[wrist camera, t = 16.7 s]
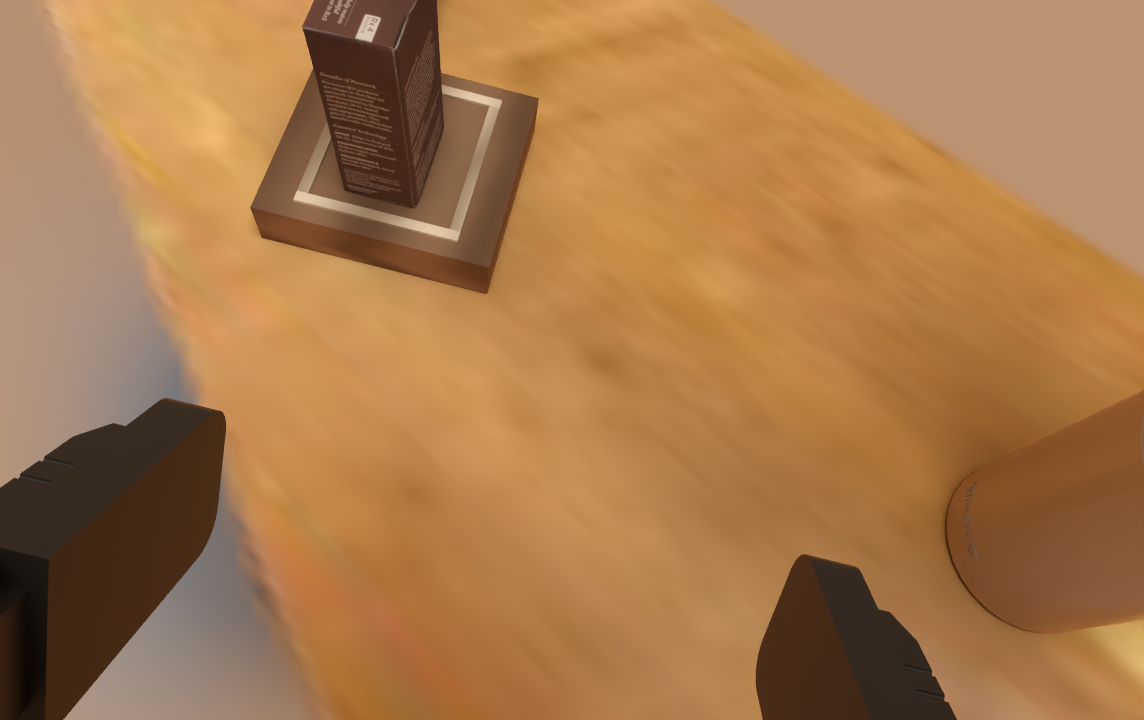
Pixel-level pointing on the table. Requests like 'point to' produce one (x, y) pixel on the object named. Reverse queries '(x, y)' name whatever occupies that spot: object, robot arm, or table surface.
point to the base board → (391, 230)
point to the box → (379, 91)
